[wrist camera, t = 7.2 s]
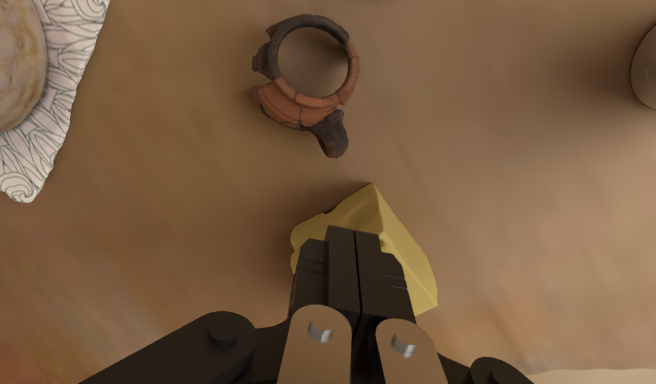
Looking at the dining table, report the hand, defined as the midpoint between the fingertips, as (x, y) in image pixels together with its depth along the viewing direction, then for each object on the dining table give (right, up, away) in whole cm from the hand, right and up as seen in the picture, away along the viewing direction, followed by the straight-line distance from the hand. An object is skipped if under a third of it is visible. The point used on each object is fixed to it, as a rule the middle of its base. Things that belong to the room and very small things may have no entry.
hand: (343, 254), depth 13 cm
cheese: (+3, -3, +34) cm, 34 cm away
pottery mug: (-2, +12, +26) cm, 29 cm away
